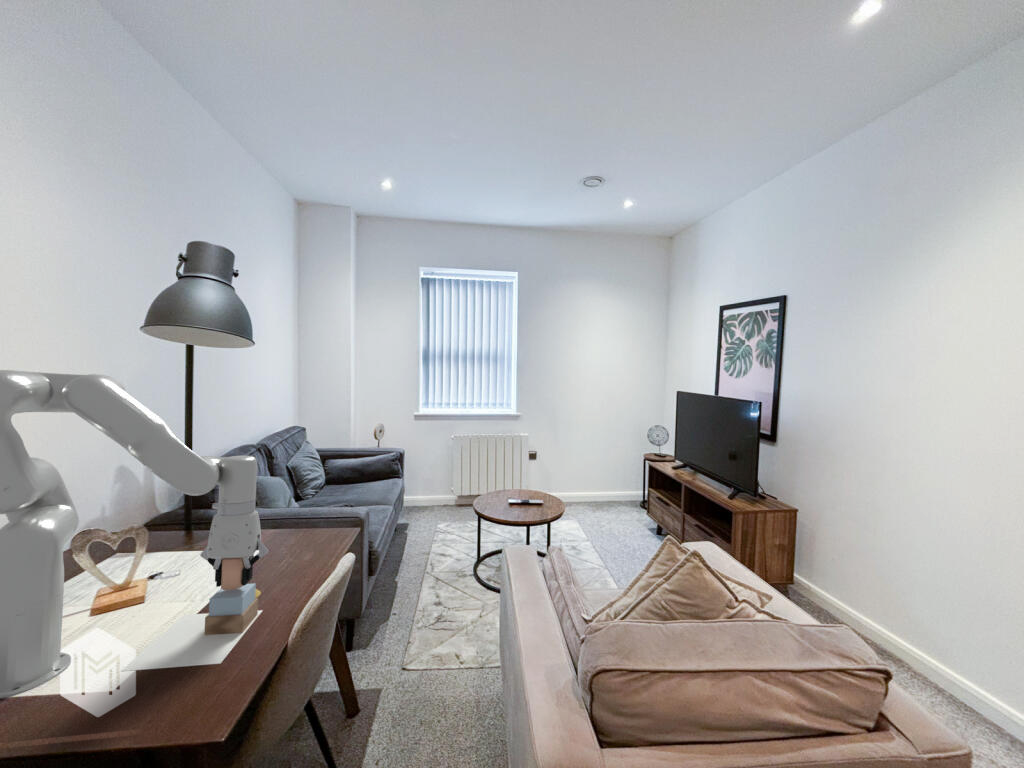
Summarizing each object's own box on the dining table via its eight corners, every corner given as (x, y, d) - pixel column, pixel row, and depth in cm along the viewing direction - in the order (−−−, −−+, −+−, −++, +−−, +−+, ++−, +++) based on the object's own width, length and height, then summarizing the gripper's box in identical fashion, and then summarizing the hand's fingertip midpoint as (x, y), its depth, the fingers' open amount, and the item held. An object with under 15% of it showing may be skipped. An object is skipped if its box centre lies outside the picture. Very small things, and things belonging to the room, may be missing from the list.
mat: (120, 674, 82) (120, 671, 82) (184, 617, 103) (184, 614, 103) (220, 666, 85) (220, 663, 85) (262, 612, 106) (262, 610, 106)
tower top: (208, 616, 95) (209, 598, 95) (224, 601, 102) (224, 584, 102) (242, 614, 96) (242, 597, 96) (255, 599, 103) (255, 583, 103)
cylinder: (216, 590, 96) (218, 560, 97) (227, 581, 101) (228, 552, 101) (240, 589, 97) (241, 559, 97) (249, 580, 102) (250, 551, 102)
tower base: (204, 635, 94) (205, 617, 95) (222, 616, 102) (223, 600, 102) (242, 632, 96) (243, 615, 96) (257, 614, 104) (258, 598, 104)
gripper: (188, 512, 95) (184, 593, 94) (269, 511, 98) (265, 589, 97) (206, 504, 102) (203, 578, 102) (280, 502, 105) (277, 575, 105)
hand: (233, 582), depth 99 cm, fingers closed on cylinder, 4 cm apart
